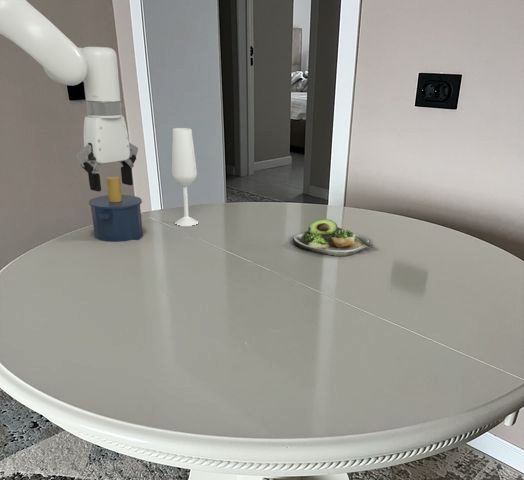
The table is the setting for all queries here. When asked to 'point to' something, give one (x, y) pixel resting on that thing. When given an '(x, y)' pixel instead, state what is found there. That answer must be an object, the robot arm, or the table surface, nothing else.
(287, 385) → the table surface
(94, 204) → the lid
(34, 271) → the table surface
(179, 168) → the champagne flute
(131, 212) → the pot
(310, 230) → the salad plate
